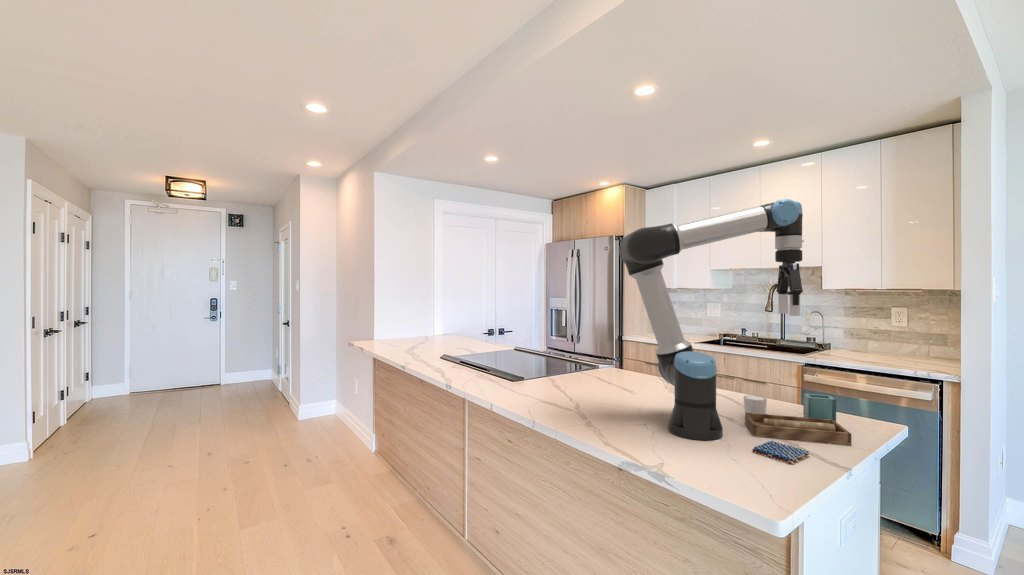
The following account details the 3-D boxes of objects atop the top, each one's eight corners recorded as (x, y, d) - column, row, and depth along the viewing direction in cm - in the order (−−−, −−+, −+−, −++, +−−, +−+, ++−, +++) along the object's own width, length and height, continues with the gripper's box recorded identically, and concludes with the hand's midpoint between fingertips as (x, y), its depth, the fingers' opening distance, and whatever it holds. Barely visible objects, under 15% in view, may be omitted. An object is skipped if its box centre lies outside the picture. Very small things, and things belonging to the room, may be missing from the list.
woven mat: (812, 458, 114) (812, 450, 114) (792, 467, 108) (792, 459, 108) (770, 446, 122) (770, 439, 122) (750, 454, 116) (750, 446, 116)
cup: (809, 426, 138) (809, 397, 138) (803, 421, 143) (803, 393, 143) (836, 428, 136) (836, 399, 136) (829, 423, 141) (829, 395, 141)
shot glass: (765, 417, 148) (765, 396, 148) (768, 422, 142) (768, 401, 142) (742, 414, 151) (742, 394, 151) (744, 420, 145) (744, 398, 145)
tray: (753, 436, 129) (753, 425, 129) (745, 422, 142) (745, 412, 142) (851, 445, 121) (851, 433, 121) (832, 430, 134) (832, 419, 134)
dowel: (762, 416, 135) (823, 410, 134) (761, 422, 137) (821, 416, 135) (774, 435, 129) (838, 428, 128) (772, 441, 131) (836, 434, 129)
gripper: (814, 246, 131) (814, 317, 131) (791, 252, 155) (791, 312, 155) (785, 246, 133) (785, 316, 133) (766, 252, 157) (767, 312, 157)
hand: (788, 314), depth 144 cm, fingers open, 13 cm apart
